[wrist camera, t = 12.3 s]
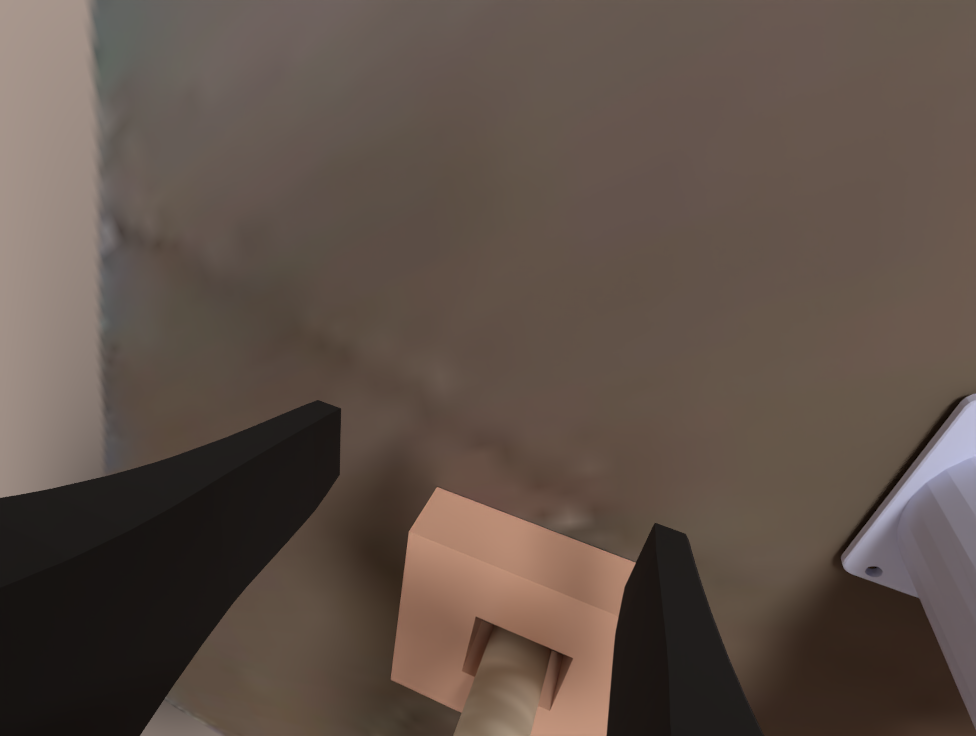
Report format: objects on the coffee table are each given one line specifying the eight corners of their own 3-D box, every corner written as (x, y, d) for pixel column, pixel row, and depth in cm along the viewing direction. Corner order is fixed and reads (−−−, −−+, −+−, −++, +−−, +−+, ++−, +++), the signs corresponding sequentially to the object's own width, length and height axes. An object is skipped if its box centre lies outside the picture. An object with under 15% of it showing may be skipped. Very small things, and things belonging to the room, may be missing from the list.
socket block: (689, 583, 23) (688, 644, 21) (611, 720, 29) (603, 779, 27) (437, 487, 25) (408, 531, 23) (414, 632, 32) (390, 679, 29)
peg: (558, 598, 26) (511, 774, 20) (560, 638, 28) (516, 815, 21) (500, 585, 27) (437, 748, 21) (505, 624, 29) (447, 790, 22)
